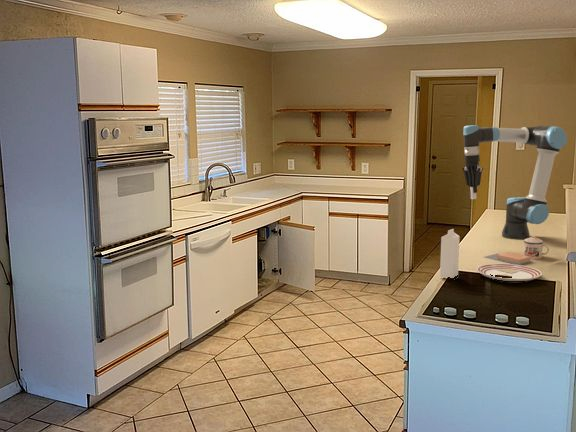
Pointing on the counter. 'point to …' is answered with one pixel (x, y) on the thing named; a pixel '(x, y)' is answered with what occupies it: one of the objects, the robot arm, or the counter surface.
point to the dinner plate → (521, 275)
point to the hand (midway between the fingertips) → (473, 198)
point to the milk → (449, 254)
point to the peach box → (513, 258)
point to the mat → (500, 260)
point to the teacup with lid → (534, 248)
